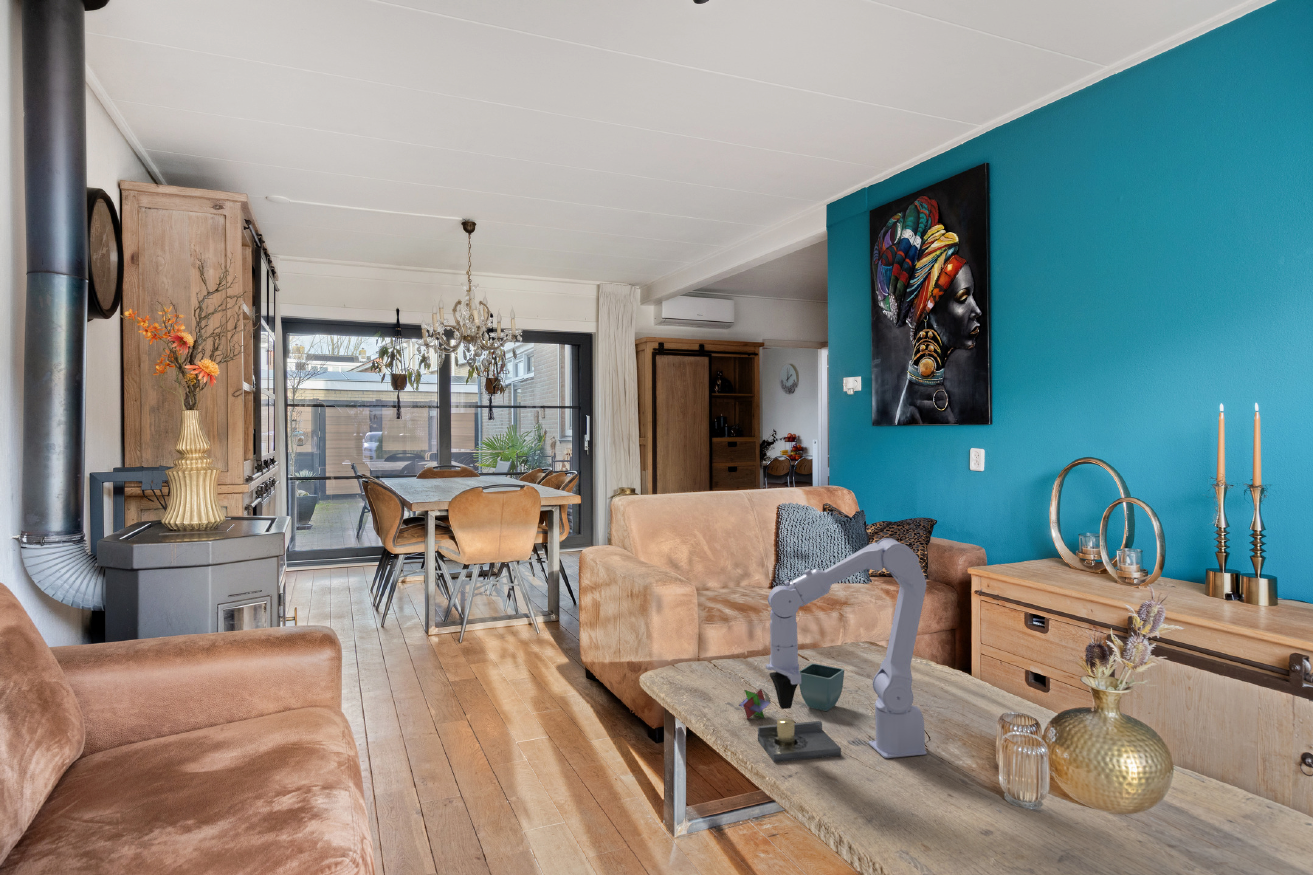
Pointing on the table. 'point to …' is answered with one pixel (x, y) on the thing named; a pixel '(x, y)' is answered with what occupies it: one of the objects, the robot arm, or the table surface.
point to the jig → (799, 742)
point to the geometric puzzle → (755, 703)
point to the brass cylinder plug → (785, 732)
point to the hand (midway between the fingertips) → (785, 707)
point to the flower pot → (821, 686)
